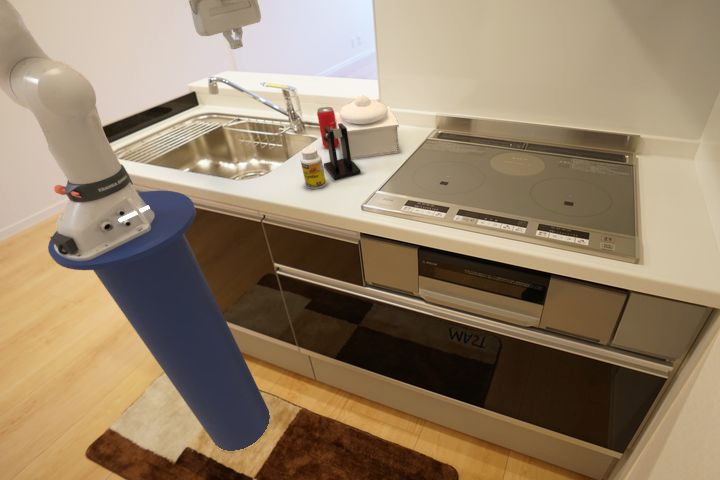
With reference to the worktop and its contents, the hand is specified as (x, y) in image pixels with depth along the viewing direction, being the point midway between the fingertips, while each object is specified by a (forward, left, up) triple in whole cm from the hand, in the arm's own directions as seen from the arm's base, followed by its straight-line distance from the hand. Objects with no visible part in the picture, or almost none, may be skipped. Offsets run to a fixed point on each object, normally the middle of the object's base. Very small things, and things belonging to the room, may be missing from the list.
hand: (237, 48), depth 112 cm
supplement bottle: (-10, -27, -31) cm, 43 cm away
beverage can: (+13, -16, -31) cm, 38 cm away
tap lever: (+2, -26, -24) cm, 35 cm away
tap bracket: (0, -29, -31) cm, 43 cm away
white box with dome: (+18, -27, -31) cm, 45 cm away
